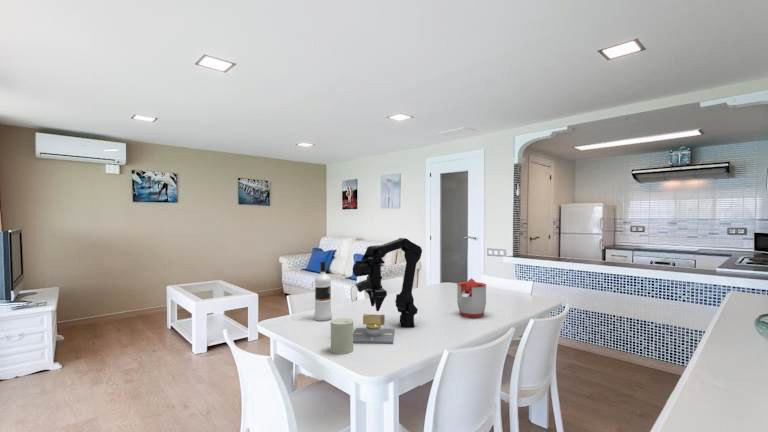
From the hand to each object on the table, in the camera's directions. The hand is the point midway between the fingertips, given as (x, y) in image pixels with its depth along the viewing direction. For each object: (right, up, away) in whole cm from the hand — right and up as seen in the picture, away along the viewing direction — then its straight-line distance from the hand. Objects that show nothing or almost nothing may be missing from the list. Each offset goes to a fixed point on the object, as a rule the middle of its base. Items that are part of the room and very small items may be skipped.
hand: (375, 308), depth 166 cm
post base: (-1, -12, -3) cm, 12 cm away
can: (-13, -12, -20) cm, 26 cm away
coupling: (0, -7, -3) cm, 8 cm away
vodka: (-28, -12, +25) cm, 40 cm away
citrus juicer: (+51, -12, +31) cm, 61 cm away
